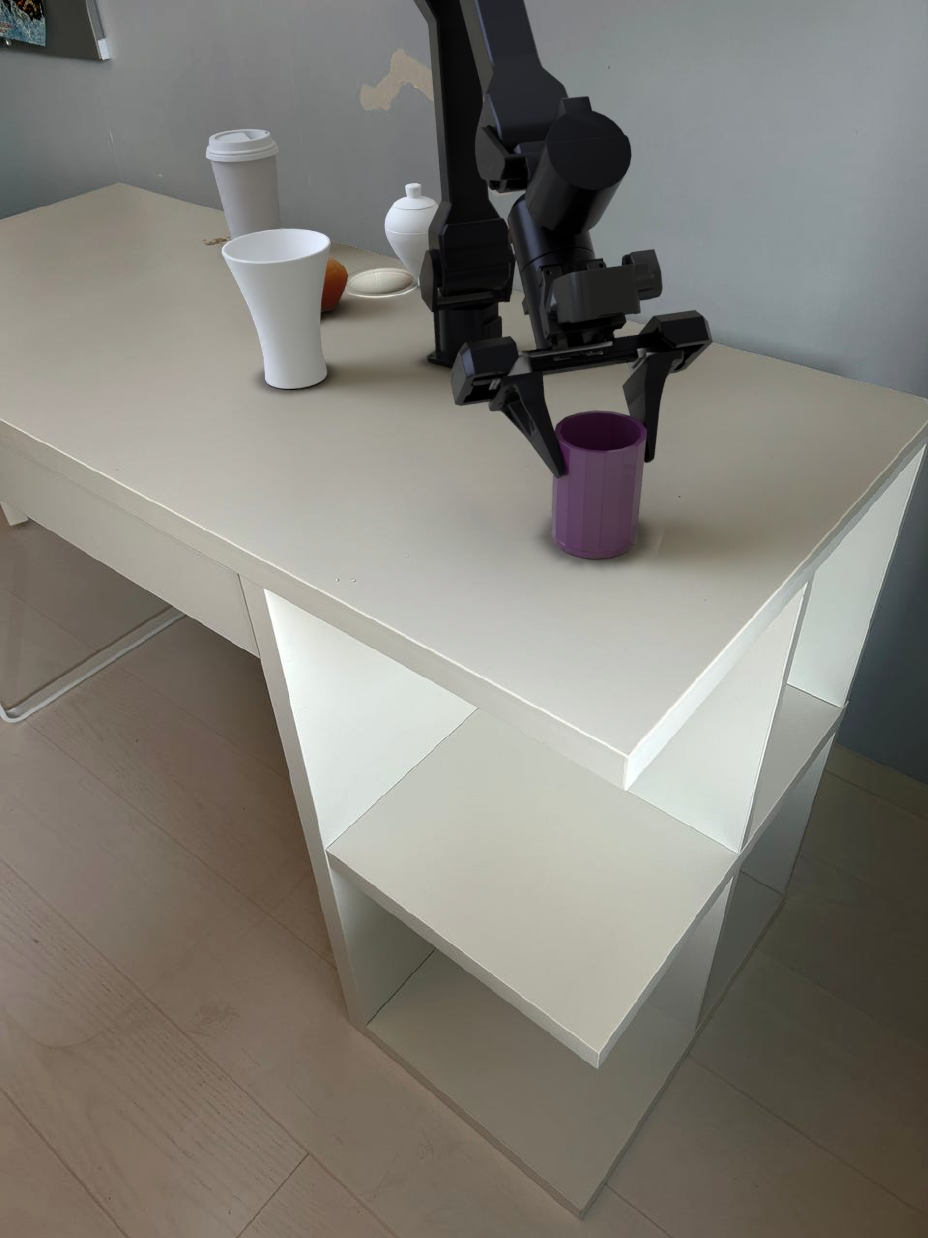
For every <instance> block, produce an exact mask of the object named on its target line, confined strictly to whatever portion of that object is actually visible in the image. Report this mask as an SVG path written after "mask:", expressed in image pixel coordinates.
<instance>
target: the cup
mask: <svg viewBox="0 0 928 1238" xmlns="http://www.w3.org/2000/svg"><path fill="white" fill-rule="evenodd" d="M331 244H332V243H331V238H329V237H328V236H327V235H326V234H324V233H322V232H319V231H315V230H311V229H303V228H281V229H277V230H267V231H261V232H255V233H251V234H247V235H243V236H241V237H238V238H235V239H233V240H232V239H231V240H230V241H227V242H226V243H225V244H224V245H223V247H222V248H221V254H222V256H223V258H224V260H225V263H226V264H227V266H228V269H229V270H230V271H231V274H232V276H233V278H234V280H235V282H236V284H237V287H238V288H239V290H240V292H241V294H242V296H243V298H244V301H245V302H246V304H247V306H248V309H249V312H250V315H251V317H252V320H253V323H254V326H255V328H256V331H257V335H258V339H259V343H260V347H261V351H262V355H263V368H264V380H265V382H266V383H267V385H270V387H271V386H272V387H274V388H277V389H278V388H279V389H288V390H289V389H290V390H291V389H292V390H293V389H302V388H306V387H311V386H314V385H317V384H318V383H321V382H322V381H323V380H325V379H326V377H327V375H328V369H327V366H326V365H327V364H326V361H325V357H324V351H323V349H322V334H321V313H322V312H321V298H322V292H323V285H324V279H325V273H326V267H327V261H328V257H330V256H329V255H330V249H331Z"/></svg>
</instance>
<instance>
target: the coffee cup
mask: <svg viewBox="0 0 928 1238" xmlns="http://www.w3.org/2000/svg"><path fill="white" fill-rule="evenodd" d="M279 152H280V149H279V146H278V144H277V142H276V141H275V140H274V139H273V138H272V135H271V132H269V131H268V130H265V129H255V128H246V129H245V128H244V129H233V130H227V131H220V132H217V133H214V134H212V135H210V137H209V138H208V145H207V147H206V151H205V157H206V159H208V160H209V161H210V164H211V168H212V172H213V175H214V178H215V179H214V180H215V181H216V186H217V189H218V194H219V198H220V201H221V204H222V208H223V212H224V215H225V220H226V224H227V227H228V230H229V234H230V238H231V240H233V239H235V238H238V237H241V236H243V235H247V234H251V233H255V232H261V231H267V230H277V229H282V228H281V213H280V200H279V199H280V197H279V185H278V184H279V183H278V182H279V181H278V167H277V166H278V165H277V154H278V153H279Z"/></svg>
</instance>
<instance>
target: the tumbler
mask: <svg viewBox="0 0 928 1238" xmlns="http://www.w3.org/2000/svg"><path fill="white" fill-rule="evenodd" d="M554 431H555V435H556V438H557V441H558V444H559V448H560V451H561V455H562V461H563V467H564V475H563V476H562V478H556V477H555V476H554V475H553V474H552V489H551V490H552V491H551V492H552V495H551V528H550V529H551V538H552V540H553V542H554V544H555V545H556V546H557V547H558V548H559V549H560V550H561V551H564V552H565V553H567V554H568V555H569V554H570V555H572V556H575V557H578V558H583V559H591V560H598V559H599V560H600V559H601V560H602V559H610V558H614V557H617V556H621V555H623V554H625V553H628V551H630V550H631V549H632V548H633V547H634V545H636V542H637V540H638V539H637V538H638V531H639V530H638V529H639V520H640V510H641V509H640V508H641V500H642V499H641V498H642V486H643V478H644V469H645V468H644V467H645V466H644V465H645V462H644V457H645V447H646V437H647V429H646V428H645V427H644V425H643V424H642V423H641V422H640V421H639V420H637V419H635V418H633V417H631V416H630V414H625V413H622V412H617V411H612V410H597V409H595V410H588V411H587V410H586V411H578V412H576V413H573V414H569V415H568V416H565V417H564V418H562V419H561V420H559V421H558V422H557V423H556V424H555V427H554Z"/></svg>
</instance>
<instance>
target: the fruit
mask: <svg viewBox="0 0 928 1238" xmlns="http://www.w3.org/2000/svg"><path fill="white" fill-rule="evenodd" d="M348 279H349V274H348V271H347V268H346V267H345V265H343V264H342V263H341V262H339V261H338V260H337V259H335V258H334V257H332V256H328V261H327V267H326V273H325V279H324V285H323V292H322V298H321V313H323V312H330V311H333V310H334V309H335V308H337V306H338V305H339V303H340V301H341V299H342V297H343V294H344V292H345V289H346V287H347V285H348Z"/></svg>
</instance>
